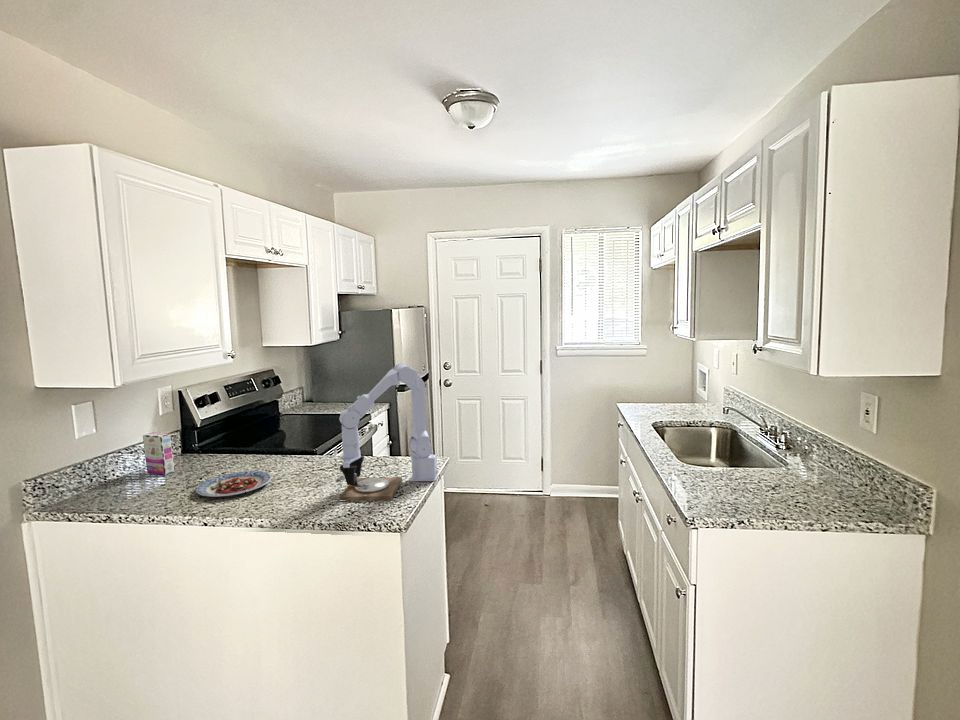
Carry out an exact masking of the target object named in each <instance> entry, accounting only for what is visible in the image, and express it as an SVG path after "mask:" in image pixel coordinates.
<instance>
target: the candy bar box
mask: <svg viewBox="0 0 960 720" xmlns="http://www.w3.org/2000/svg"><path fill="white" fill-rule="evenodd" d="M172 439H173V438H172V433H167V432H165V433H164V432H150V433H145V434H143V435H142V440H143V441H142V442H143V450H144V456H145V457H144V458H145V466H146V472H147V474H152V475H153V474H154V475H163V476H166V475H170V474H173V473H175V472H176V464H175V456H174V448H173V447H174V446H173V440H172Z"/></svg>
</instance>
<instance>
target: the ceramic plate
mask: <svg viewBox="0 0 960 720" xmlns="http://www.w3.org/2000/svg"><path fill="white" fill-rule="evenodd" d="M271 480H272V475H271V474H270V473H268V472H266V471H260V470H246V471H243V470H242V471H236V472H230V473H226V474H223V475H218V476H216V477H211V478H210V479H208V480H205V481H204V482H203V481H202V483H200V484H199V485H198V486H197V487H196V490H195V492H196V493H197V494H198V495H200V496H203V497H209V498H210V497H213V498H218V497H230V496H237V495H242V494H245V492H246V493H249V492H251V491H254V490H257V489H259V488H262V487H264V486H265V485H266V484H268V483H269V482H271Z"/></svg>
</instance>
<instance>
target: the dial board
mask: <svg viewBox="0 0 960 720" xmlns="http://www.w3.org/2000/svg"><path fill="white" fill-rule="evenodd" d="M370 478H371V477H357V482H359V481H362V480H365V479H370ZM382 478H383V479H386V480H388V481H389V486H388V487H387V488H386V489H384V490H382V491H378V492H373V493H361V492H357V491H356V490H355V487H349V485H347V487H346V489H344V491H343V492H342V493H341V494H340V495H339V501H340V500H376V501H392V500H393V498H394V496H395V495H396V493H397V492H398V490H397V489H399V488H400V486H401V484H402V482H403V477H399V476H398V477H396V476H395V477H393V476H392V477H382Z"/></svg>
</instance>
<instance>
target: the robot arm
mask: <svg viewBox="0 0 960 720" xmlns="http://www.w3.org/2000/svg"><path fill="white" fill-rule="evenodd" d="M400 382H401V383H402V384H404V385H406V386H407V387H408V388H409V389H410V394H411V397H410V398H411V419H412V420H411V424H412V425H411V426H412V428H411V429H412V430H411V432H410V439H409V441H408V447H409V450H411V453H410V454H411V455H410V460H411V461H410V462H411V474H412V475H411V477H410V479H409V482H435V481H436V479H437V476H438V475H439V473H438V461H437V455H436V454H431V453H432V451H433V446H432V443H431V442H430V436H429V433H428V431H427V412H426V411H427V409H426V406H427V405H426V384H425V382H424V380H423V379H422V377H421V375H420V374H419V372H418V370H416V369H414V368H413V367H412V366H408V365H406V364H404V363H398V364H396V365H395V366H394V367H393V368H391V369H390V370H388V372H387V373H386V374H385V375H384V376H383V377H382V378H381V380H379V382H378V383H376V385H375V386H374V387H373V388H372V389H371V390H370V391H369V392H368V393H365V394H364V393H363V394H361V396H360V395H358V396H357V397H356V400H355V401H354V402H353V403H352V404H351V405H349V406H347V407H346V409H345V410H343V411H342V412H341V413H340V415H339V418H338V421H339V422H340V424H341V441H342V451H343V452H342V455H340V460H341V459H343V461H342V464H341V465H340V466H339V469H340V471H341V473H343V474H344V476H345V482H346V485H347V486H349V485H353V484H354V475H355V473H357V478H361V477H360V476H361V471H362V465H363V463H362V462H363V460H364V458H365V456H364V455H361V454H362V453H361V452H362V451H361V449H360V439H359V438H360V437H359V435H360V434H359V429H358V426H359V423H360V419H362V418H363V417H364V416H365V415H366V414H367V413H369V412H370V410H371V409H372V408H373V407H375V401H376V400H377V399H378V398H379V397H380V396H381V395H383V394H384V393H385V392H386V391H387V390H388V389H389V388H390V387H391V386H398V385H401V383H400Z"/></svg>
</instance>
